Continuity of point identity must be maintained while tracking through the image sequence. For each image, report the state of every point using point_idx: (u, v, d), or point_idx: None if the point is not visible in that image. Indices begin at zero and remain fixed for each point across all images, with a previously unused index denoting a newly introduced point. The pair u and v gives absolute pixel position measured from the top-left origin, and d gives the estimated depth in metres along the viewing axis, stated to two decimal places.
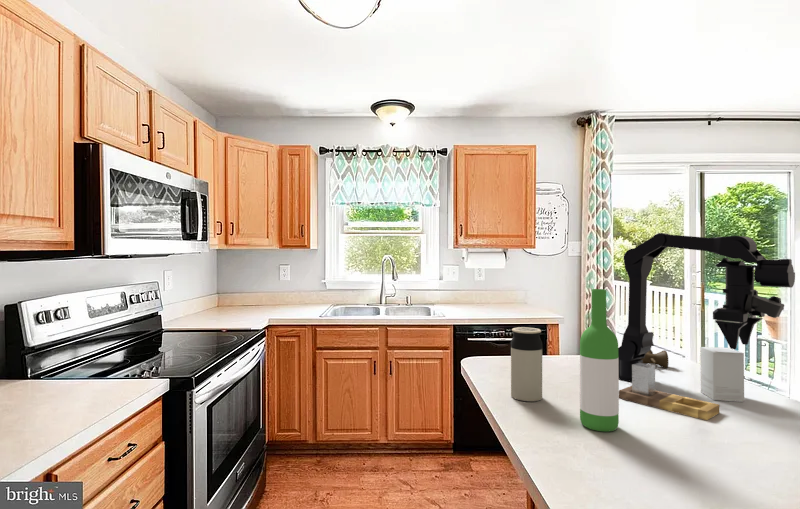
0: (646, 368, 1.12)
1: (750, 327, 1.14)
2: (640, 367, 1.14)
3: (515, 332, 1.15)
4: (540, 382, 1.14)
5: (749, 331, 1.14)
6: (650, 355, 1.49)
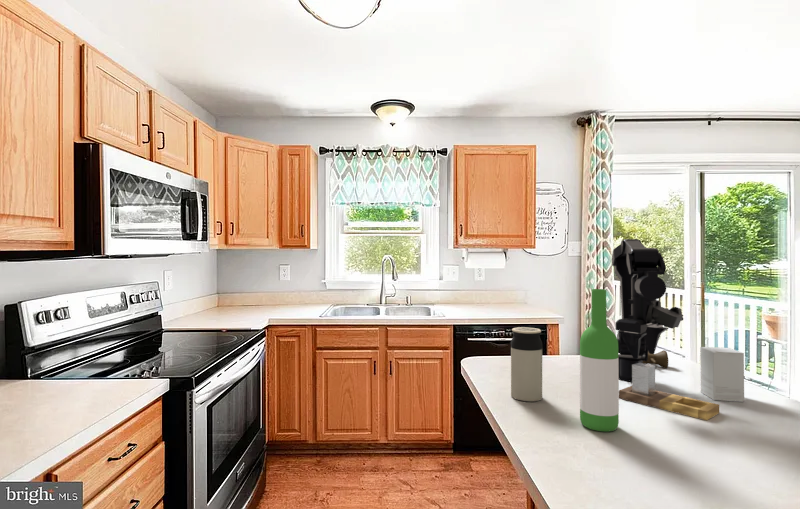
0: (646, 368, 1.12)
1: (656, 337, 1.17)
2: (640, 367, 1.14)
3: (515, 332, 1.15)
4: (540, 382, 1.14)
5: (655, 341, 1.17)
6: (650, 355, 1.49)
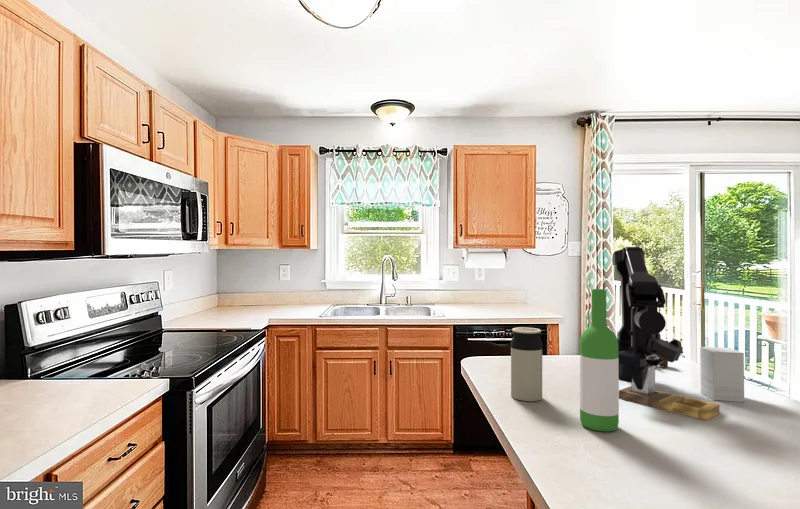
0: None
1: None
2: None
3: (515, 332, 1.15)
4: (540, 382, 1.14)
5: None
6: None
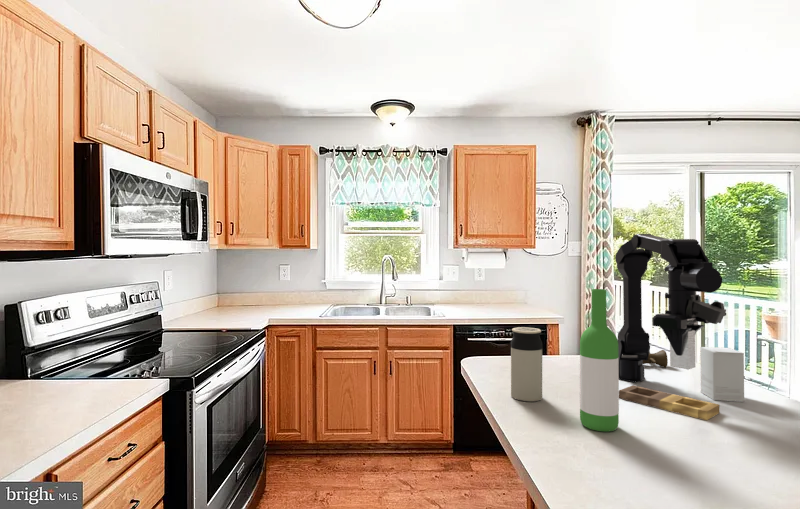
0: None
1: None
2: None
3: (515, 332, 1.15)
4: (540, 382, 1.14)
5: None
6: (649, 355, 1.50)
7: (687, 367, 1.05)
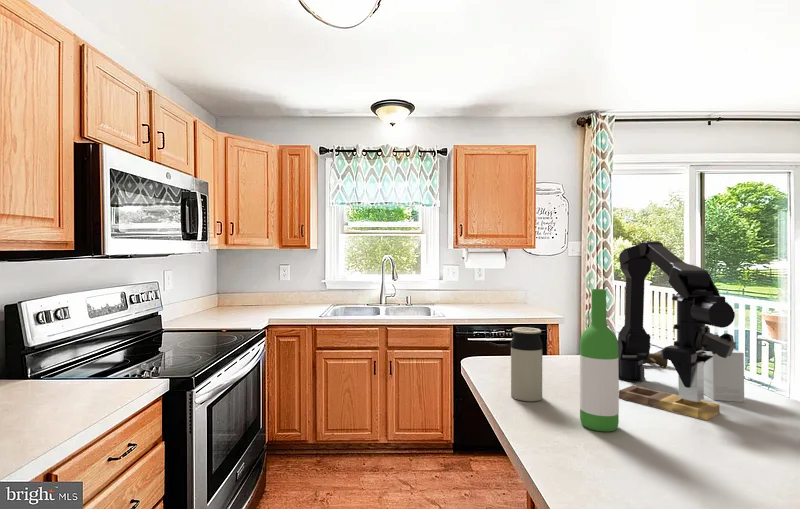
0: None
1: None
2: None
3: (515, 332, 1.15)
4: (540, 382, 1.14)
5: None
6: (649, 355, 1.50)
7: (696, 400, 1.03)
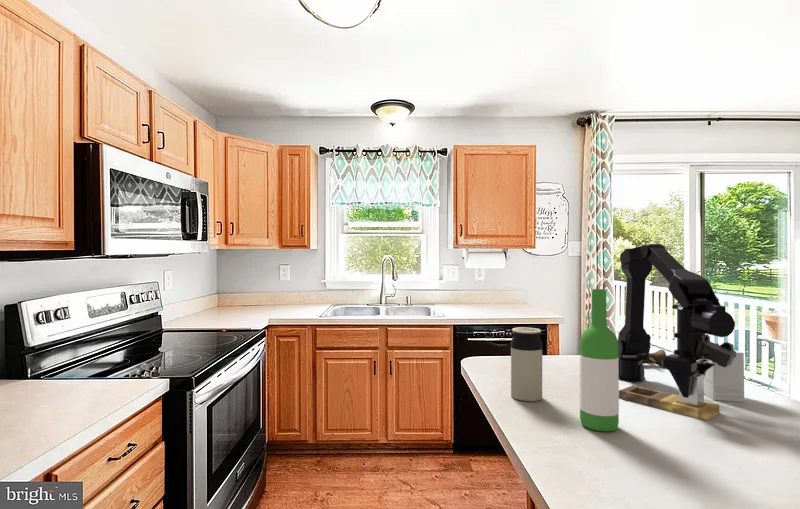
0: (695, 377, 1.04)
1: None
2: None
3: (515, 332, 1.15)
4: (540, 382, 1.14)
5: None
6: (649, 354, 1.50)
7: None
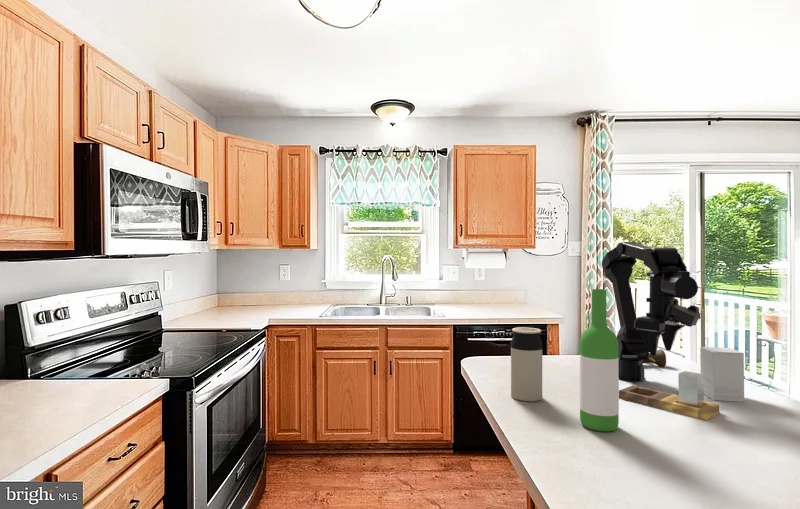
0: (695, 377, 1.04)
1: (673, 334, 1.20)
2: (688, 376, 1.05)
3: (515, 332, 1.15)
4: (540, 382, 1.14)
5: (672, 338, 1.20)
6: None
7: None
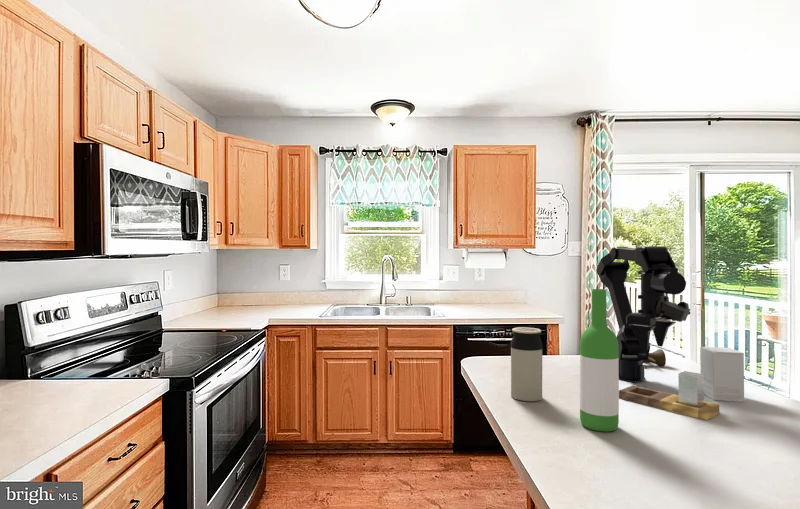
0: (695, 377, 1.04)
1: (664, 330, 1.24)
2: (688, 376, 1.05)
3: (515, 332, 1.15)
4: (540, 382, 1.14)
5: (663, 334, 1.24)
6: None
7: None
